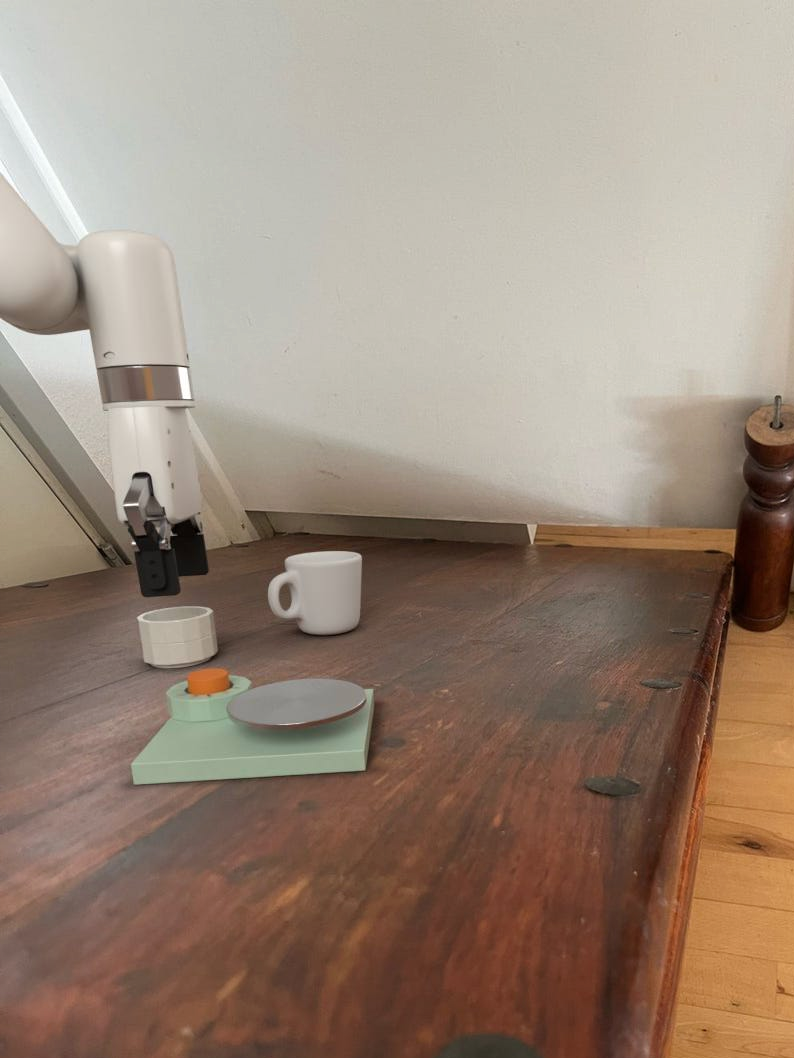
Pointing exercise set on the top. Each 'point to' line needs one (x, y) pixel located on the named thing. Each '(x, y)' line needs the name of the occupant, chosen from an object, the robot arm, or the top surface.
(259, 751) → the scale
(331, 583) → the cup
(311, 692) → the platter
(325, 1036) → the top surface
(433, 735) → the top surface
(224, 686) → the power button
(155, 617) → the bowl
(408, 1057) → the top surface
